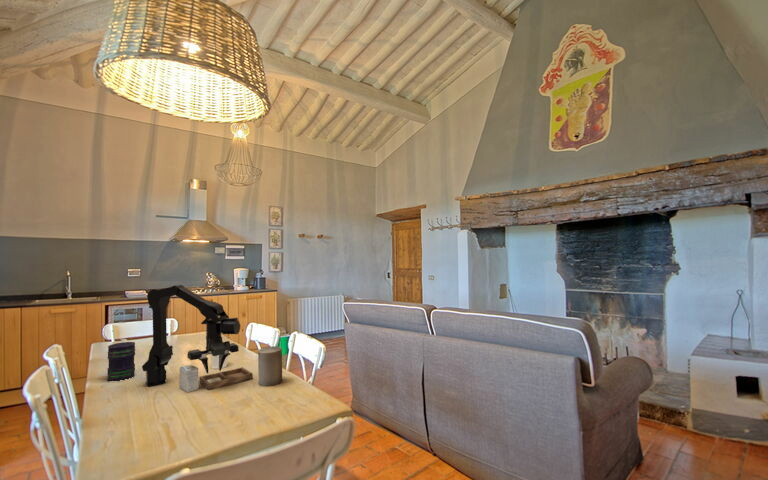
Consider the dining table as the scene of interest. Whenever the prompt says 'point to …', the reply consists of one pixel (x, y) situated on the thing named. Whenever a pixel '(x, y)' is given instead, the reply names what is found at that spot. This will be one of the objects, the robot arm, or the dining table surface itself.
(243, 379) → the tray
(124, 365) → the storage jar
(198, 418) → the dining table surface
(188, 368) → the medicine box
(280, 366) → the pillar candle
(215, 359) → the white cup
